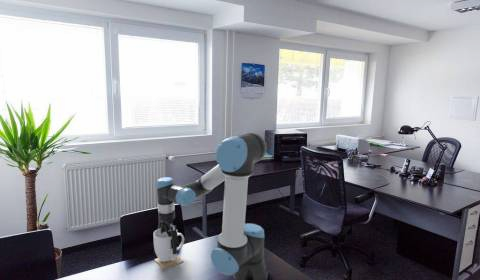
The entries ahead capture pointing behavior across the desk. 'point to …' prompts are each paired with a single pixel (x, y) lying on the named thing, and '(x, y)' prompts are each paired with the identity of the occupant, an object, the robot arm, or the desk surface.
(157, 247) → the mug
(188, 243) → the desk surface
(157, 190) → the robot arm
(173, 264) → the coaster
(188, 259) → the desk surface
